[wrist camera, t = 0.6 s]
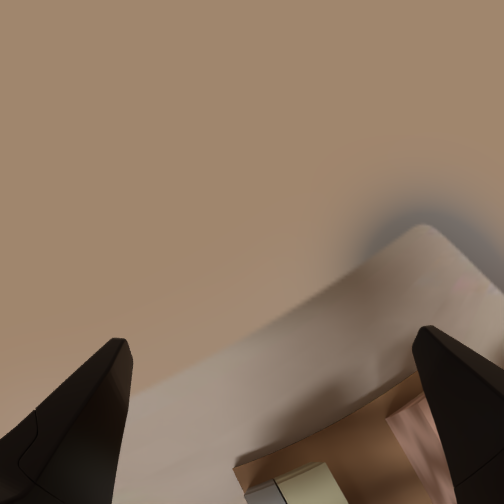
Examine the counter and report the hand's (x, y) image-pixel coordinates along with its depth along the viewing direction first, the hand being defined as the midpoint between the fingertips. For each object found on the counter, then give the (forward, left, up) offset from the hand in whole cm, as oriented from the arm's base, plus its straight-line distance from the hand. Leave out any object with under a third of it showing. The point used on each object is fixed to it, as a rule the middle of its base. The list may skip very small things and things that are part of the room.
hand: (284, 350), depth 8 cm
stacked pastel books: (-10, -5, -17) cm, 21 cm away
